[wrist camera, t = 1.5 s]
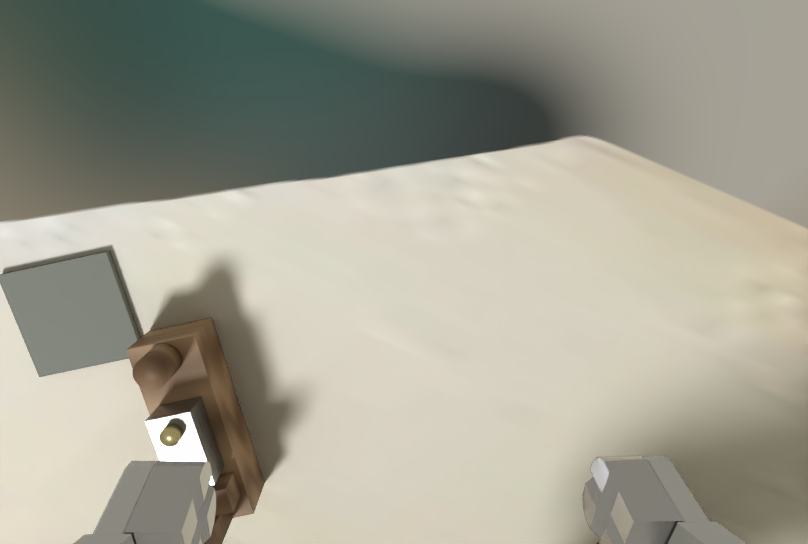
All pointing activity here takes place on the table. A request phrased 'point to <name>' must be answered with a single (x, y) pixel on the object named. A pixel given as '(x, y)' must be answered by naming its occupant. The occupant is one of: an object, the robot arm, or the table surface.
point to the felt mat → (71, 313)
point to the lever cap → (185, 434)
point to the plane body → (208, 377)
